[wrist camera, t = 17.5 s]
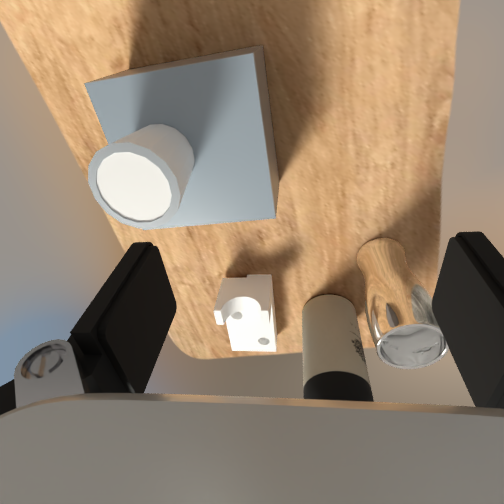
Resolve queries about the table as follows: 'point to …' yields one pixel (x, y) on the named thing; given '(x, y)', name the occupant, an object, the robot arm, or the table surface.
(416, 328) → the silver metal tumbler
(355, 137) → the table surface
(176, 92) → the lid
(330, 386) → the travel mug
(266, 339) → the bracket
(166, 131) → the white cup
